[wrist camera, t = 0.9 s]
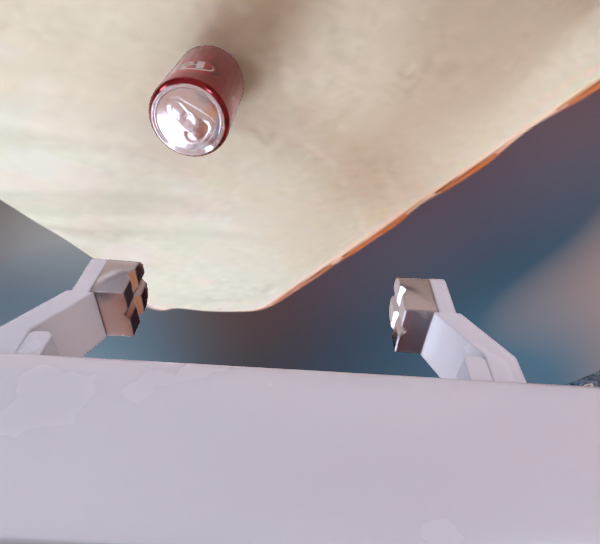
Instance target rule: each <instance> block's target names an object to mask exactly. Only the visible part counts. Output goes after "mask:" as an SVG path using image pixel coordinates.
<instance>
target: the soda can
mask: <svg viewBox="0 0 600 544" xmlns="http://www.w3.org/2000/svg"><path fill="white" fill-rule="evenodd" d="M243 90H244V79H243V74H242V71H241V69H240V67H239V65H238V63H237V62H236V60H235V59H234V58H233V57H232V56H231V55H230V54H229V53H227V52H226V51H224V50H222V49H221V48H218V47H215V46H209V45H203V46H197V47H195V48H192V49H191V50H189V51H187V52H186V53H185V54H184V55H183V56H182V58H181V59H180V60H179V61H178V63H177V64H176V65H175V66H174V68H173V69H172V70H171V71H170V72H169V74H168V75H167V76H166V77H165V79H164V80H163V81H162V82H161V84H160V85H159V86H158V87H157V88H156V90H155V91H154V93H153V95H152V97H151V100H150V103H149V118H150V122H151V125H152V128H153V130H154V131H155V133H156V135H157V136H158V138H159V139H160V140H161V141H162V142H163V143H164V144H165V145H166V146H167V147H169V148H170V149H172V150H173V151H175V152H178V153H180V154H183V155H187V156H203V155H207V154H210V153H212V152H214V151H215V150H217V149H218V148H219V147H220V146H221V145H222V144H223V143H224V141H225V140H226V137H227V135H228V133H229V130H230V127H231V125H232V122H233V119H234V116H235V114H236V111H237V108H238V105H239V103H240V100H241V97H242V94H243Z"/></svg>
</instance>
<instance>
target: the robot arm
mask: <svg viewBox="0 0 600 544" xmlns="http://www.w3.org/2000/svg"><path fill="white" fill-rule="evenodd" d="M143 275H144V268H143V264H142V263H141V262H133V261H121V260H106V259H92V260H91V261H90V262H89V264H88V265H87V267H86V268H85V270H84V272H83V273H82V275H81V277H80V278H79V280H78V281H77V283H76V284H75V286H74V288H73V289H72V291H65V292H63V293H61V294H60V295H58V296H56V297H54V298H52V299H50V300H49V301H47V302H45V303H43V304H41V305H39V306H38V307H36V308H34V309H32V310H30V311H28V312H27V313H25V314H23V315H21V316H19V317H17V318H16V319H14V320H12V321H10V322H8V323H6V324H5V325H3V326H1V327H0V544H600V387H588V386H570V385H552V384H535V383H526V380H525V378H524V376H523V373H522V371H521V369H520V367H519V364H518V362H517V359H516V357H514V356H513V355H512V354H510V353H509V352H508V351H507V350H505V349H504V348H503V347H502V346H500V345H499V344H498V343H497V342H495V341H494V340H493V339H492V338H490V337H489V336H488V335H487V334H485V333H484V332H483V331H482V330H480V329H479V328H478V327H476V326H475V325H474V324H473V323H471V322H470V321H469V320H468V319H467V318H465V317H464V316H463V315H462V314H457V313H456V311H455V308H454V305H453V302H452V299H451V296H450V294H449V291H448V288H447V285H446V282H445V281H444V280H443V279H412V278H396V281H395V284H394V292H395V295H394V296H393V297H392V298H391V301H390V307H389V321H390V326H391V327H392V328H393V329H394V330H393V334H392V339H393V345H394V350H395V352H406V353H419V354H421V356H422V357H423V358H424V359H425V360H426V362H427V363H428V364H429V365H430V366H431V367H432V369H433V370H434V371H435V372H436V373H437V374H438V376H439V377H440V378H430V377H414V376H396V375H378V374H361V373H344V372H327V371H326V372H325V371H309V370H292V369H274V368H254V367H239V366H221V365H203V364H188V363H187V364H186V363H169V362H153V361H136V360H119V359H100V358H84V357H83V356H84V355H85V354H86V353H88V352H89V351H90V350H91V349H92V348H94V347H95V346H96V345H97V344H98V343H100V341H102V340H103V339H105V338H106V337H107V336H106V335H109V336H110V335H111V336H134V334H135V331H136V329H137V327H138V324H139V322H140V320H139V314H141V313H142V312H144V310H145V307H146V305H147V299H148V288H147V283H146V282H145V281H144V280H143V279H142V277H143Z"/></svg>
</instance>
